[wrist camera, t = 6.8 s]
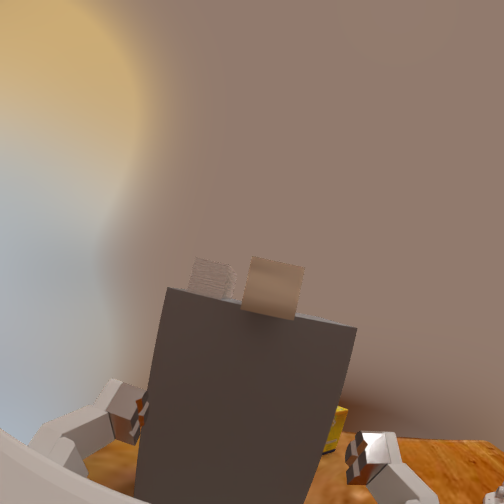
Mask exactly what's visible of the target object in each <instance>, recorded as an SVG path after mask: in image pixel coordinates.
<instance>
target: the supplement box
mask: <svg viewBox="0 0 504 504" xmlns="http://www.w3.org/2000/svg"><path fill="white" fill-rule="evenodd" d="M347 413H348V409H344V408H342V407H339V406H337V409H336V413H335V416H334V419H333V422H332V426H331V429H330V432H329V435H328V438H327V441H326V444H325V447H324V450H323V453H322V455H324V454H327V453H330V452H333V451H335V448H336V446H337V443H338V440H339V437H340V434H341V431H342V428H343V425H344V422H345V419H346V416H347Z"/></svg>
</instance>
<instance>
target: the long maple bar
mask: <svg viewBox="0 0 504 504" xmlns="http://www.w3.org/2000/svg"><path fill="white" fill-rule="evenodd" d="M304 270H305V268H304V267H300V266H295V265H290V264H286V263H282V262H276V261H272V260H268V259H263V258H259V257H254V256H252V259H251V264H250V268H249V273H248V278H247V281H246V286H245V290H244V295H243V299H242V304H241V308H240V309H241V310H246V311H250V312H255V313H260V314H264V315H269V316H274V317H278V318H283V319H288V320H293V321H294V317H295V313H296V308H297V303H298V299H299V294H300V289H301V285H302V280H303V275H304Z"/></svg>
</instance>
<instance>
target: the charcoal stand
mask: <svg viewBox="0 0 504 504" xmlns="http://www.w3.org/2000/svg"><path fill="white" fill-rule="evenodd" d="M241 304H242V301H239V300H235V299H229V300H219V299H215V298H211V297H207V296H203V295H198V294H194V293H190V292H187V290H185V289H177V288H170V287H168V288H167V292H166V296H165V300H164V305H163V310H162V314H161V319H160V324H159V329H158V334H157V339H156V344H155V349H154V355H153V360H152V366H151V371H150V378H149V383H148V389H147V391H148V394H149V397H148V399H147V402H148V403H149V414H148V418H147V421H146V423H145V425H143V426H142V428H141V435H140V443H139V451H138V459H137V468H136V478H135V488H134V498H136V499H139V500H142V501H145V502H148V503H151V504H303V503H304V501H305V498H306V496H307V493H308V491H309V488H310V486H311V483H312V480H313V478H314V475H315V472H316V470H317V467H318V464H319V461H320V459H321V456H322V453H323V450H324V447H325V444H326V441H327V438H328V435H329V432H330V429H331V426H332V422H333V419H334V416H335V413H336V409H337V406H338V402H339V399H340V395H341V391H342V388H343V385H344V381H345V377H346V373H347V370H348V365H349V362H350V357H351V354H352V349H353V345H354V341H355V336H356V332H357V328H355V327H352V326H348V325H344V324H341V323H338V322H334V321H331V320H327V319H324V318H320V317H315V316H310V315H305V314H300V313H295V317H294V321H293V320H288V319H283V318H278V317H274V316H269V315H264V314H260V313H255V312H250V311H246V310H241V309H240V308H241Z"/></svg>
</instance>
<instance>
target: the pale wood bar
mask: <svg viewBox="0 0 504 504" xmlns="http://www.w3.org/2000/svg"><path fill="white" fill-rule="evenodd" d="M236 278H237V274H236V273H235V272H234V270H233V269H232V268H231V267H230V265H227V264H223V263H219V262H214V261H210V260H205V259H201V258H197V257H196V258H195V260H194V264H193V269H192V273H191V277H190V282H189V286H188V290H187V292H190V293H194V294H198V295H203V296H207V297H211V298H215V299H219V300H229V299H232V296H233V292H234V287H235V282H236Z"/></svg>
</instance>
